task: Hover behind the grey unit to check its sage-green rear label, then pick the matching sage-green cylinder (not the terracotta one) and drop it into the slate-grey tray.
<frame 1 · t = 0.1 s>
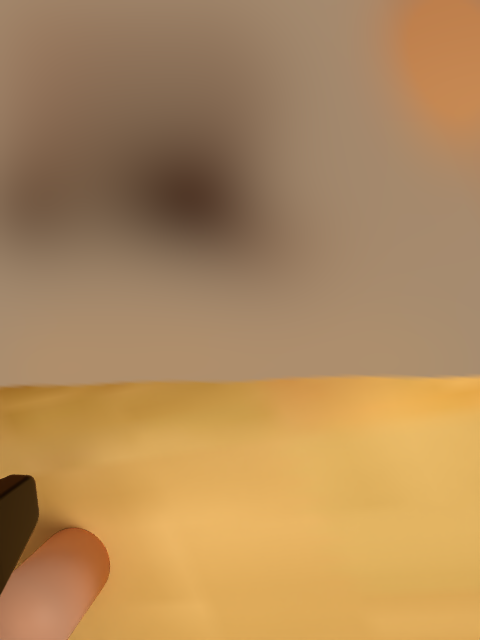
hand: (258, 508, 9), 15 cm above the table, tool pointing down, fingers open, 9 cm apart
terracotta part: (74, 564, 25), on the table
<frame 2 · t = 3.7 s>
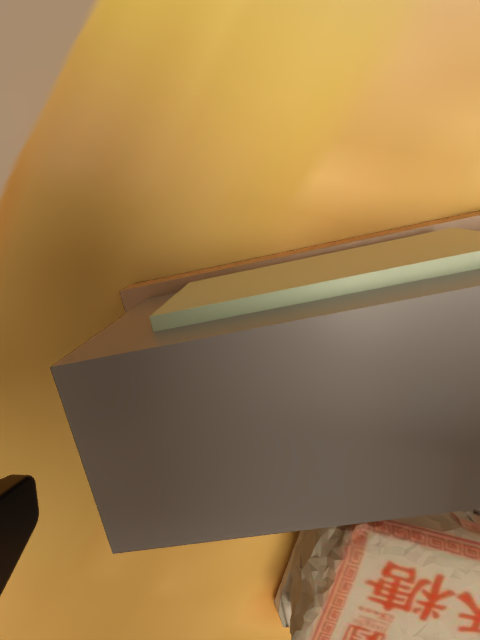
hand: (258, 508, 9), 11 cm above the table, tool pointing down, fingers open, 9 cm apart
grey unit: (323, 318, 18), on the table
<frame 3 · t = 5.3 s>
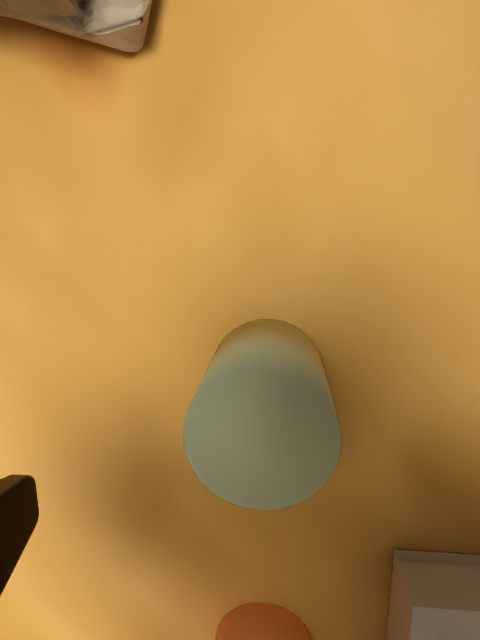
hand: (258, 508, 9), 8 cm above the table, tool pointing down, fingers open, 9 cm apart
sage part: (267, 373, 16), on the table
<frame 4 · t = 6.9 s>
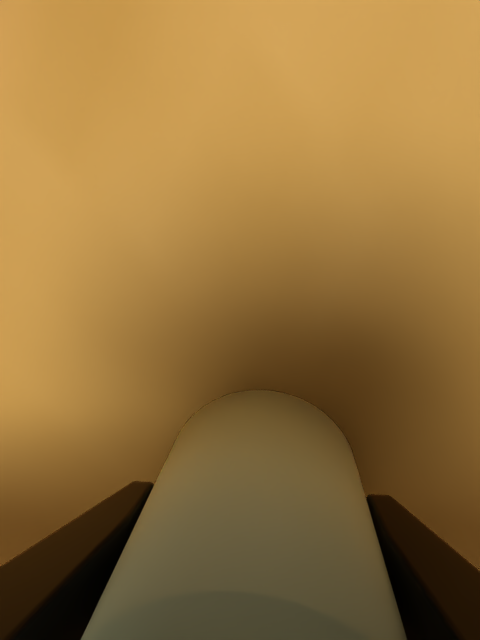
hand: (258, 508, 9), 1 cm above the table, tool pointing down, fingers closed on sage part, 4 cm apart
sage part: (261, 477, 10), on the table, touching gripper
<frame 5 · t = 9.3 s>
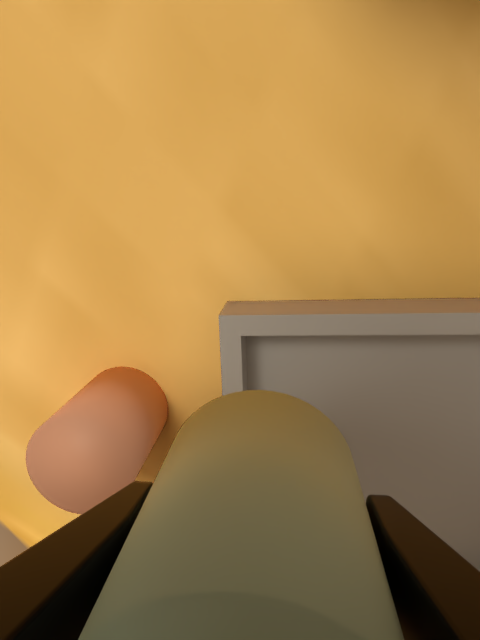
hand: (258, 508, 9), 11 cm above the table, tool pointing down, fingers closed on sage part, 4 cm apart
terracotta part: (126, 407, 21), on the table
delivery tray: (387, 451, 20), on the table
sage part: (259, 477, 10), point 10 cm above the table, touching gripper
when the fingers open (3 cm above the table, at t = 12.0 s): sage part drops 2 cm, resting on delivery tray.
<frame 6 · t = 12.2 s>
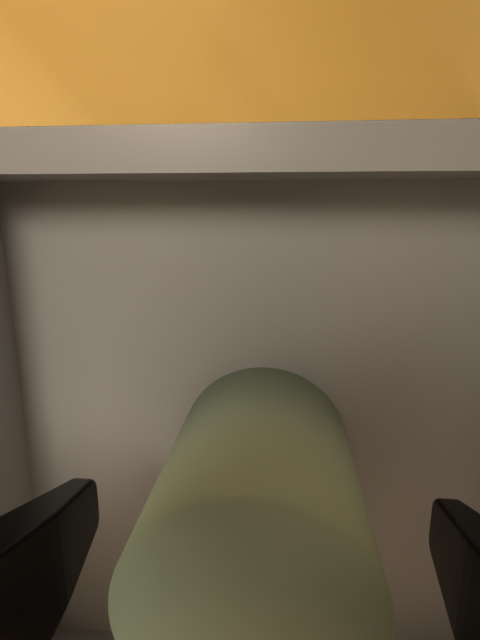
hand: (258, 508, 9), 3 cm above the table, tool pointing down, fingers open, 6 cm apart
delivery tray: (265, 431, 12), on the table
sage part: (263, 443, 11), point 1 cm above the table, touching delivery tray
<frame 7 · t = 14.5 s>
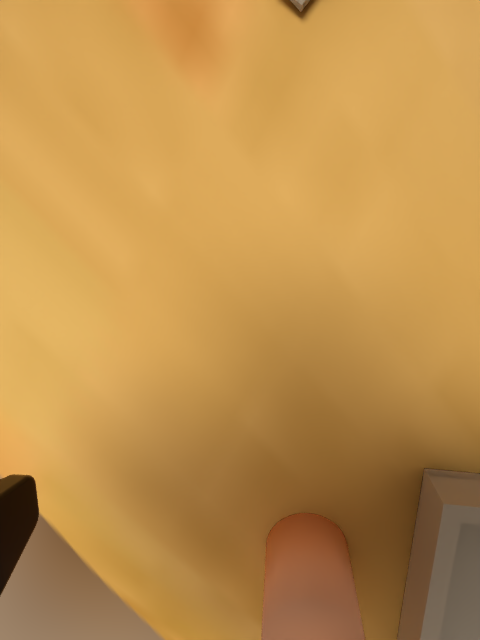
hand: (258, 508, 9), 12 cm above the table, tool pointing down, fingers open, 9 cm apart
terracotta part: (306, 548, 22), on the table
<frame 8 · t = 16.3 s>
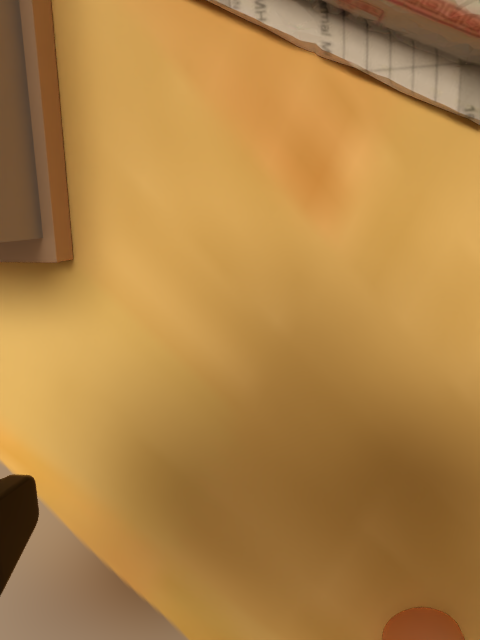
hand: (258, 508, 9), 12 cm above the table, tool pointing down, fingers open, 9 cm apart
terracotta part: (421, 639, 23), on the table
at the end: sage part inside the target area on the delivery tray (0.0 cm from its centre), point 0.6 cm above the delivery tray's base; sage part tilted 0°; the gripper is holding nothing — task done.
